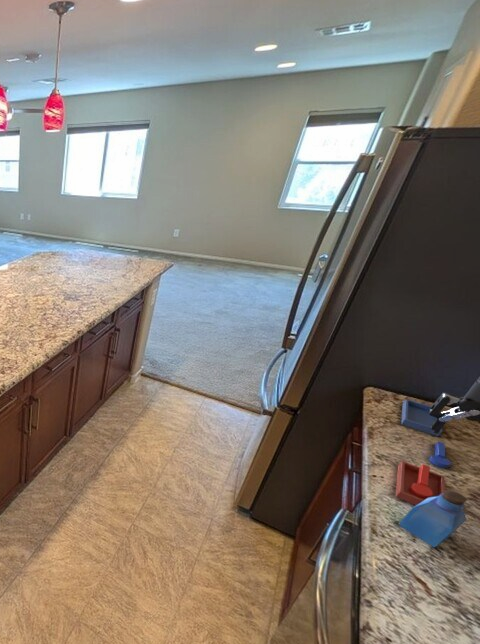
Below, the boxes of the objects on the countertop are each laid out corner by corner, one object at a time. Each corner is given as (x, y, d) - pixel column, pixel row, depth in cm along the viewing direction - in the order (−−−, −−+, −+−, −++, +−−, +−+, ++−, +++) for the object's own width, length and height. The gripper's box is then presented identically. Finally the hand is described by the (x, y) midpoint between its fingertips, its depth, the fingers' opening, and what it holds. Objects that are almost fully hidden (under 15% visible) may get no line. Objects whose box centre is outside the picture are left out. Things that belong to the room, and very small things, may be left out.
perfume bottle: (412, 515, 91) (443, 480, 85) (448, 537, 86) (483, 502, 80) (398, 524, 89) (428, 489, 83) (434, 547, 84) (469, 512, 78)
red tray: (397, 465, 104) (401, 460, 103) (440, 481, 99) (444, 476, 98) (395, 497, 95) (399, 491, 94) (441, 516, 91) (446, 510, 90)
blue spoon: (428, 443, 111) (432, 439, 110) (447, 449, 109) (450, 445, 108) (429, 463, 104) (432, 459, 104) (448, 470, 102) (452, 466, 101)
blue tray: (402, 403, 126) (406, 398, 125) (437, 414, 121) (441, 409, 120) (401, 424, 118) (404, 419, 117) (438, 436, 113) (442, 431, 112)
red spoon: (413, 465, 101) (416, 461, 100) (432, 472, 99) (436, 468, 98) (408, 493, 96) (412, 489, 95) (429, 501, 94) (433, 497, 93)
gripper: (553, 390, 83) (504, 445, 91) (455, 367, 92) (418, 419, 100) (561, 406, 79) (508, 462, 87) (457, 380, 87) (418, 434, 96)
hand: (460, 439), depth 93 cm, fingers open, 8 cm apart
